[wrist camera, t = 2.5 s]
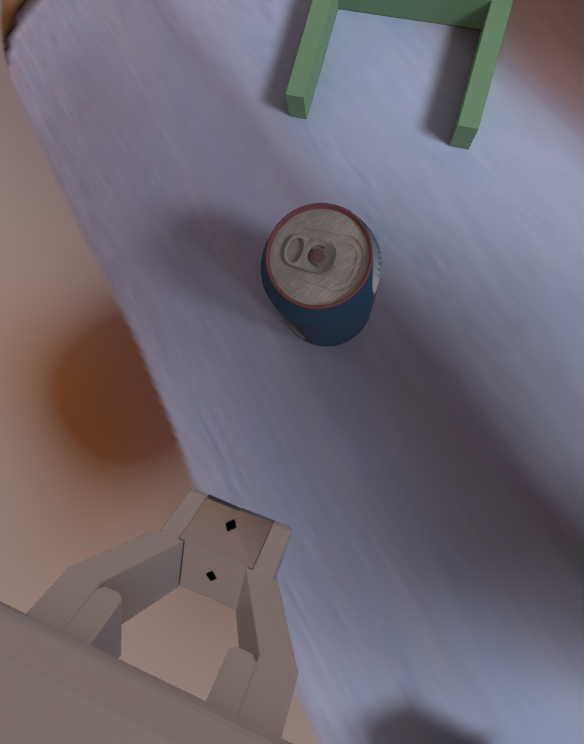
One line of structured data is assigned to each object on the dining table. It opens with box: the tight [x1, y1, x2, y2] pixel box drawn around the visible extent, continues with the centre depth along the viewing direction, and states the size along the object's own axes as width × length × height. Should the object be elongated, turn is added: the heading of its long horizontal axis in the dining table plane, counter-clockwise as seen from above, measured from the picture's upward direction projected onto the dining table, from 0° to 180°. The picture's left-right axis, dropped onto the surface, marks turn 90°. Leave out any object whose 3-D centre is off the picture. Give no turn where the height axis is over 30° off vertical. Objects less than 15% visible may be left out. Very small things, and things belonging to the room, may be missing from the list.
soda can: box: [261, 203, 382, 346], centre depth 28 cm, size 7×7×12 cm
